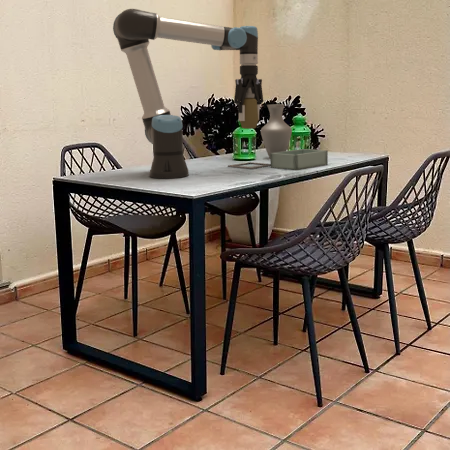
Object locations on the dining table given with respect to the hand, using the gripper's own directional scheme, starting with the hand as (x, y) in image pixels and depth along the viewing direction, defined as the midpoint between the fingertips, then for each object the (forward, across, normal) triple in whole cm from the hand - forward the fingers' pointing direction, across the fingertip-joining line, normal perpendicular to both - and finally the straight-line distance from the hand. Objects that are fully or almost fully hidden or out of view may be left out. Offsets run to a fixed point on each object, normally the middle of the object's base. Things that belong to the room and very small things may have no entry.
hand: (248, 120), depth 269 cm
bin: (+19, +13, -17) cm, 29 cm away
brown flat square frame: (+20, +1, 0) cm, 20 cm away
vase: (+19, +29, +10) cm, 36 cm away
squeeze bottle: (+4, 0, 0) cm, 4 cm away
